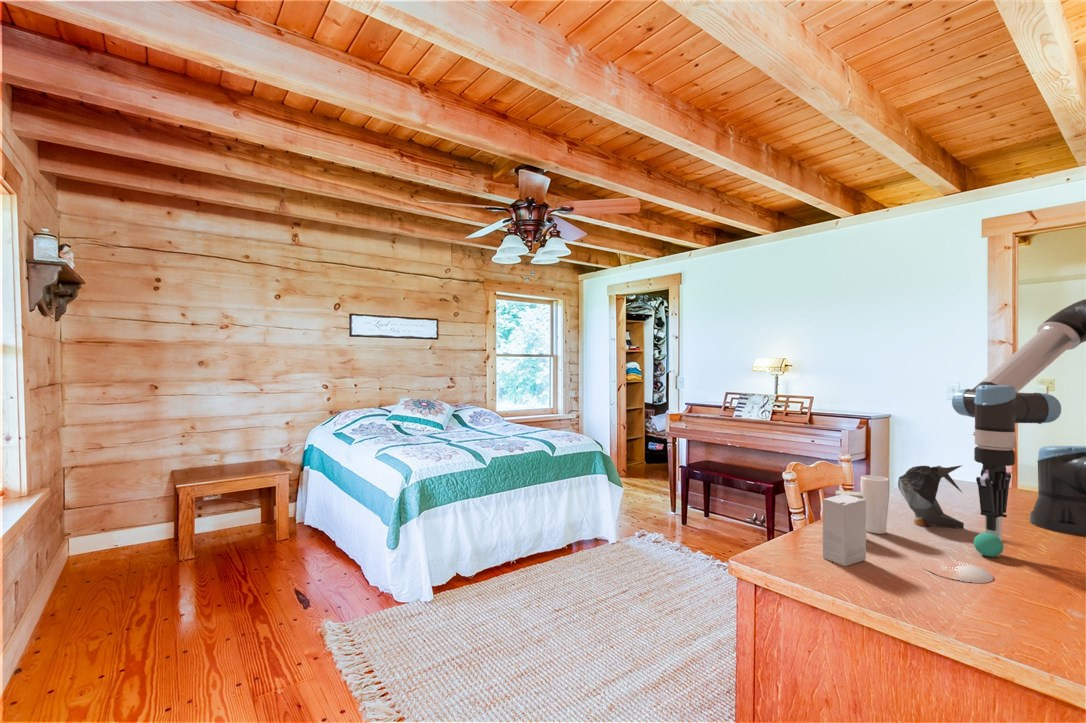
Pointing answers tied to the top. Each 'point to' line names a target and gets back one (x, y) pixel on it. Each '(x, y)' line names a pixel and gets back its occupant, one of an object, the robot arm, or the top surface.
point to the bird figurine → (927, 495)
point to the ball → (988, 544)
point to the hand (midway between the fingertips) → (993, 542)
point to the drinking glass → (875, 502)
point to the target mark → (972, 574)
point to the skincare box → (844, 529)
